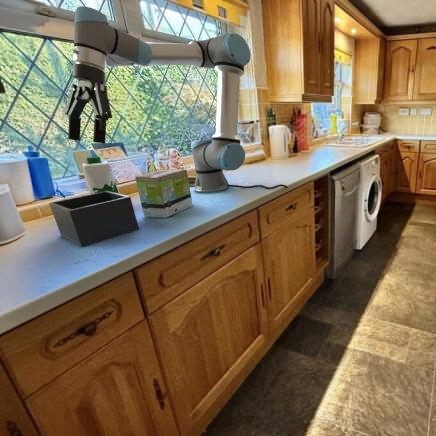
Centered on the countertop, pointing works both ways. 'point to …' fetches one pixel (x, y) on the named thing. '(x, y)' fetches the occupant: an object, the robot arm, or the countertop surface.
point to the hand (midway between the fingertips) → (86, 141)
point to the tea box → (164, 192)
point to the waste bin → (94, 217)
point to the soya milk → (99, 176)
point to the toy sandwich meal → (191, 180)
